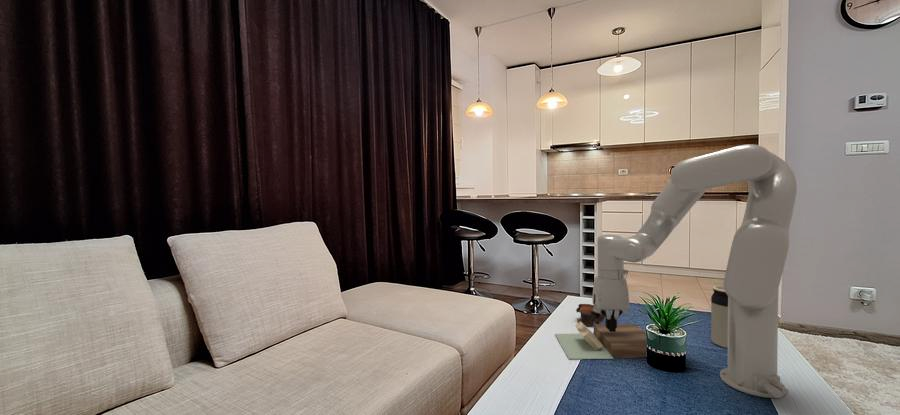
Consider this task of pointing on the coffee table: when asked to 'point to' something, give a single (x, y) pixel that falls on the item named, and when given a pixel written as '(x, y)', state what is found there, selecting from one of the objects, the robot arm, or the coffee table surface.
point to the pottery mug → (589, 315)
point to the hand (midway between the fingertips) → (611, 329)
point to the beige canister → (719, 316)
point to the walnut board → (622, 340)
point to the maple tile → (588, 336)
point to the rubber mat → (580, 348)
